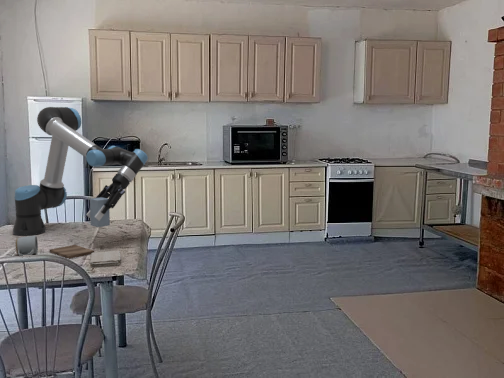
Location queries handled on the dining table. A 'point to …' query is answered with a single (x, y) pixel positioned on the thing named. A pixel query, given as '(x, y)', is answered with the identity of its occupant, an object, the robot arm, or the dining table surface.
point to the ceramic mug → (27, 245)
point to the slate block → (94, 209)
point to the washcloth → (105, 259)
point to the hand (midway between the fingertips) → (92, 217)
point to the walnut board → (71, 251)
